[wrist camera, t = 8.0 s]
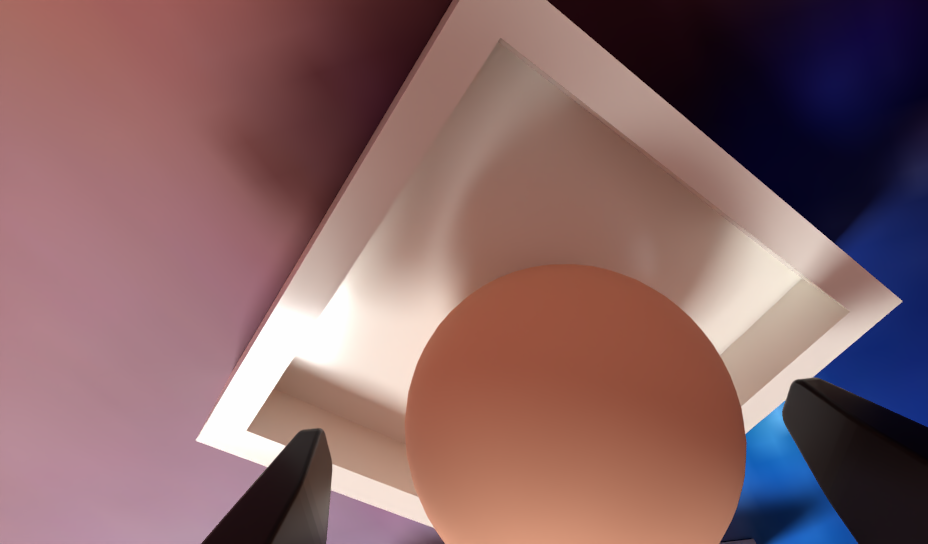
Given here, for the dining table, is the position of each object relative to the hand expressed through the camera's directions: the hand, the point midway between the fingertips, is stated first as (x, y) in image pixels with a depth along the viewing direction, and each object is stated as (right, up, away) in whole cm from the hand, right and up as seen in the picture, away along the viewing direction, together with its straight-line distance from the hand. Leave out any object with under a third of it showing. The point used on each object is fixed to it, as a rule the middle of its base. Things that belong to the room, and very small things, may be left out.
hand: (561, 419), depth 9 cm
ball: (0, +1, +3) cm, 3 cm away
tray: (0, +2, +3) cm, 4 cm away
